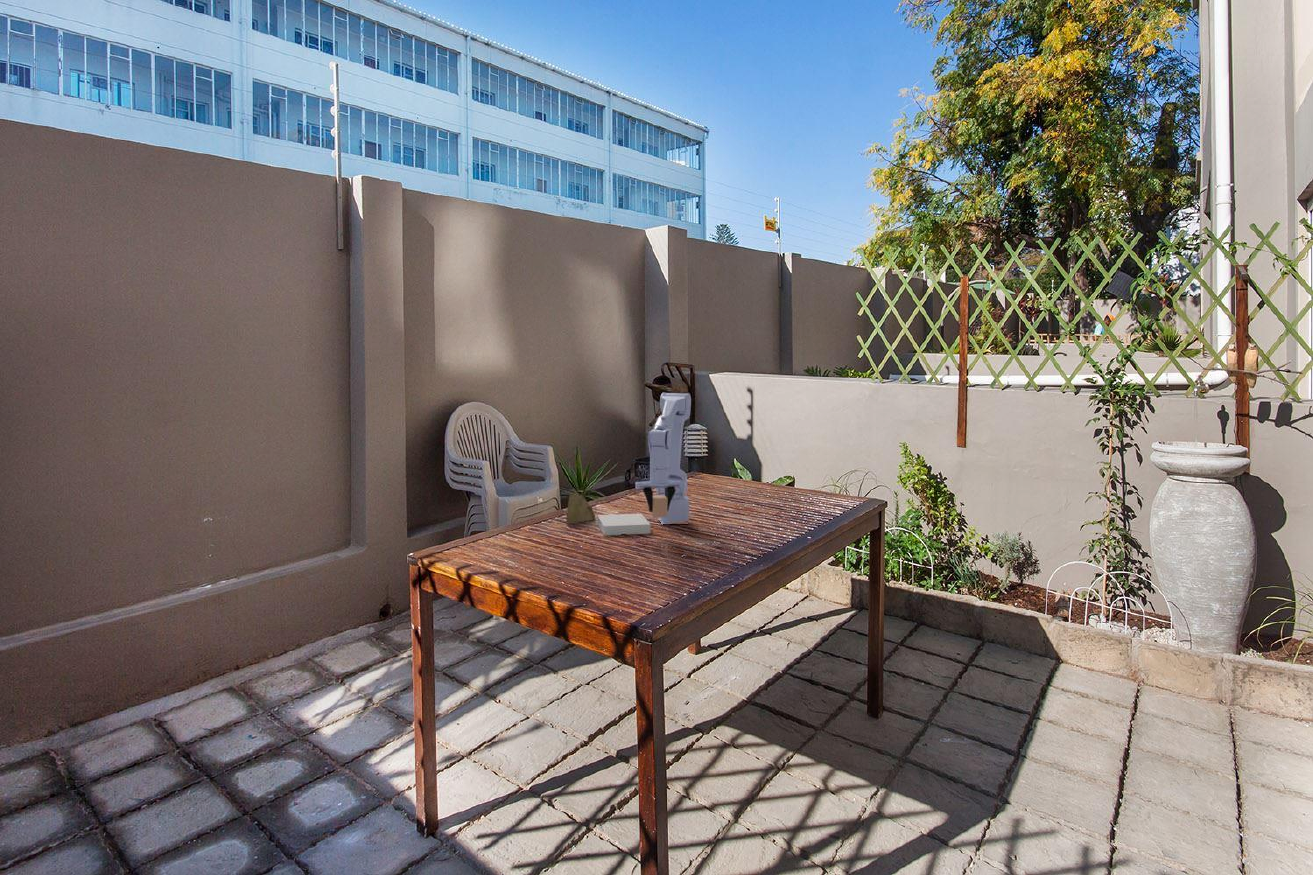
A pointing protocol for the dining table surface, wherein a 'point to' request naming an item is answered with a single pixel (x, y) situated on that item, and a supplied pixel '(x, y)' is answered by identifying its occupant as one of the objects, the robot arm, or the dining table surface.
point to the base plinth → (623, 524)
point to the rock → (578, 509)
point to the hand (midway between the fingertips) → (658, 510)
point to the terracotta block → (659, 506)
